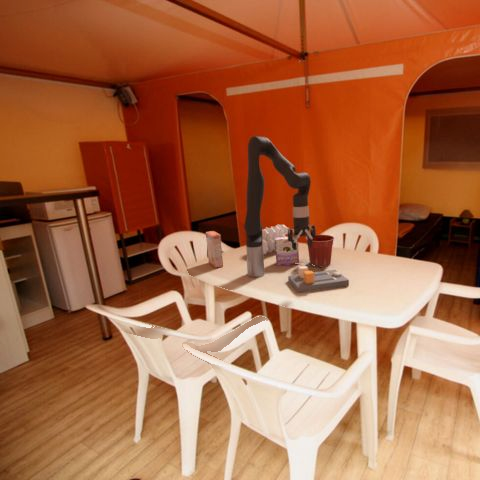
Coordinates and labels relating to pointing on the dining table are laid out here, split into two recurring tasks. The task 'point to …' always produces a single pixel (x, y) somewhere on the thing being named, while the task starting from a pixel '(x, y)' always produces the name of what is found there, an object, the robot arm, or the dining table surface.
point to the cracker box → (214, 249)
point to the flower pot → (320, 250)
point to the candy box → (285, 251)
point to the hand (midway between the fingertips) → (302, 248)
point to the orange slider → (308, 277)
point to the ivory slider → (302, 270)
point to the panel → (319, 281)
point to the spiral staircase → (272, 237)
